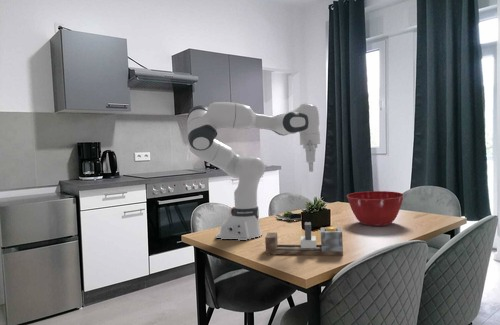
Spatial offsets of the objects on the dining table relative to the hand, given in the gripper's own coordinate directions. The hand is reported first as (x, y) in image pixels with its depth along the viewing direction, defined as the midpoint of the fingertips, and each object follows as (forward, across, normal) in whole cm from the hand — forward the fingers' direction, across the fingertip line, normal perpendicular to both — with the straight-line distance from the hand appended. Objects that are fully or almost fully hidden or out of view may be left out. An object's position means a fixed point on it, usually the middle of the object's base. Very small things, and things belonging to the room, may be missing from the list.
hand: (311, 171), depth 160 cm
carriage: (+29, -18, +2) cm, 34 cm away
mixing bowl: (+31, +33, -32) cm, 56 cm away
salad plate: (+32, +48, +12) cm, 59 cm away
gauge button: (+26, -18, -7) cm, 32 cm away
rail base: (+31, -18, +4) cm, 36 cm away
